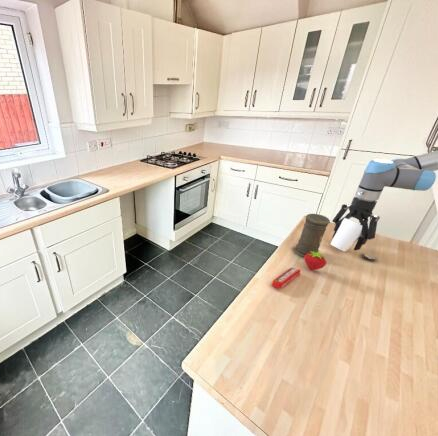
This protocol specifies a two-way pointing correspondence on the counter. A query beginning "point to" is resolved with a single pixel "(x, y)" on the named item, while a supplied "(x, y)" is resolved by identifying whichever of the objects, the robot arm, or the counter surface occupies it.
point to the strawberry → (314, 261)
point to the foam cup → (347, 235)
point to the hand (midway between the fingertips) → (345, 243)
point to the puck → (369, 257)
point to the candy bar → (285, 278)
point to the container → (312, 234)
